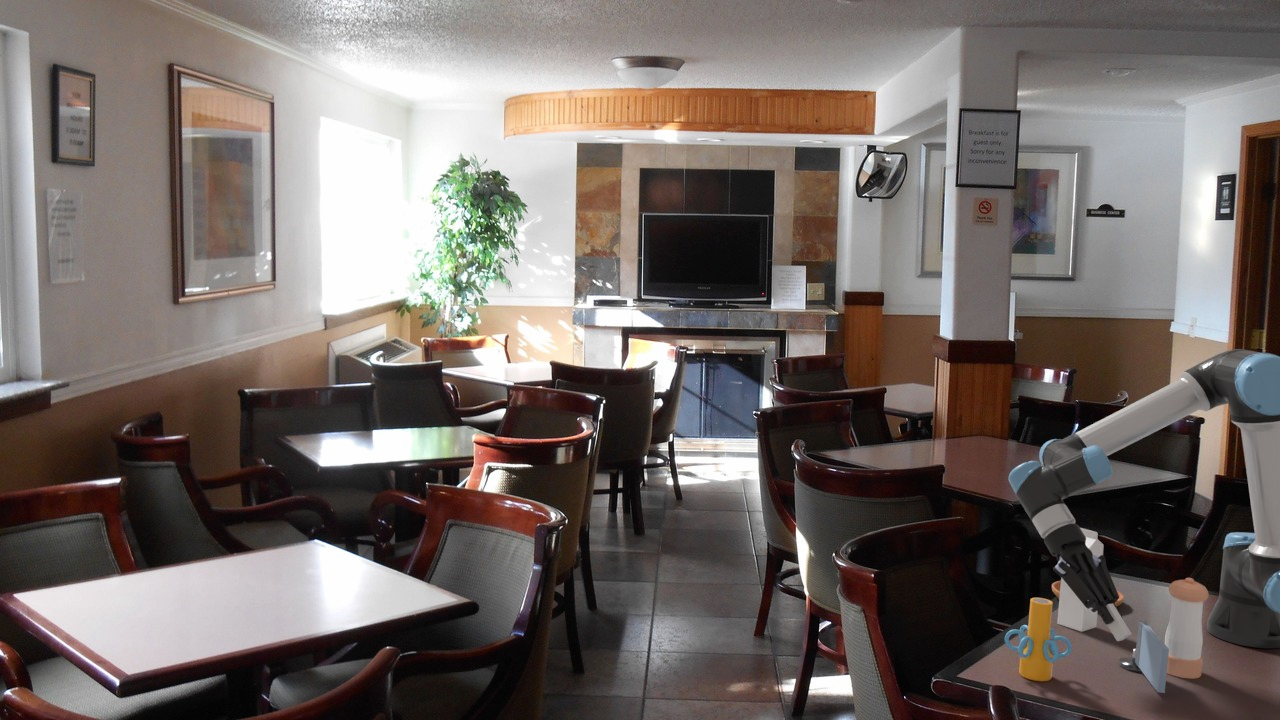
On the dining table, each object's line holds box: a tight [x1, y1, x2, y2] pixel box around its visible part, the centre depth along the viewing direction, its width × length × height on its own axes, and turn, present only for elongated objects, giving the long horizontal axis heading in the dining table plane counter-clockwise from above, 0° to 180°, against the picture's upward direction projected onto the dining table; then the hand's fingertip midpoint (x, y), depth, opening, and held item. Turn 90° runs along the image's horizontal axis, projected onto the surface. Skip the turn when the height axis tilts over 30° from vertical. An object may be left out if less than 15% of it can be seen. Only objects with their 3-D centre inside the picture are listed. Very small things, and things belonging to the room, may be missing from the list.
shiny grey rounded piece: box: [1118, 647, 1144, 674], centre depth 212 cm, size 6×6×4 cm
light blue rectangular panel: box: [1135, 620, 1169, 694], centre depth 203 cm, size 15×1×8 cm, turn 170°
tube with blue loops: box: [1004, 597, 1073, 682], centre depth 205 cm, size 12×10×15 cm
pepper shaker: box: [1164, 577, 1210, 680], centre depth 210 cm, size 7×7×19 cm
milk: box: [1057, 527, 1104, 633], centre depth 234 cm, size 6×6×22 cm
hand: (1124, 637), depth 203 cm, fingers closed
